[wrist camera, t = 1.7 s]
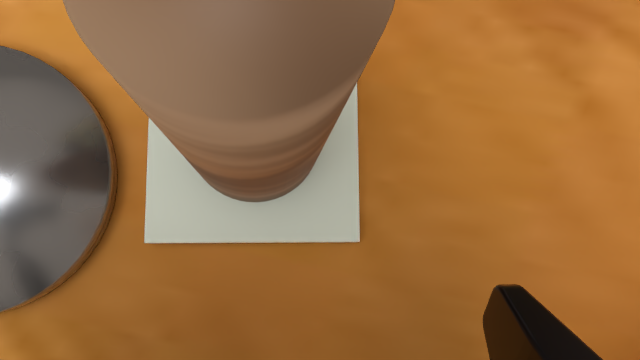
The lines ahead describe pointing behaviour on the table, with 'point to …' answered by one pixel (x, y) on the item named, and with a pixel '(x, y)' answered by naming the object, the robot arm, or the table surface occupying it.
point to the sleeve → (237, 78)
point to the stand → (256, 217)
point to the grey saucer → (48, 178)
